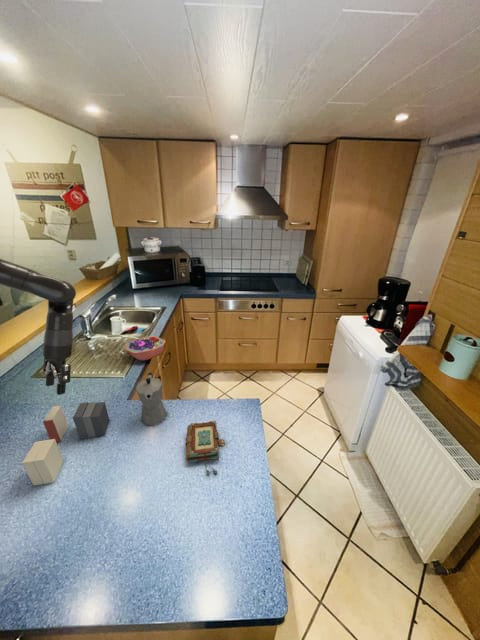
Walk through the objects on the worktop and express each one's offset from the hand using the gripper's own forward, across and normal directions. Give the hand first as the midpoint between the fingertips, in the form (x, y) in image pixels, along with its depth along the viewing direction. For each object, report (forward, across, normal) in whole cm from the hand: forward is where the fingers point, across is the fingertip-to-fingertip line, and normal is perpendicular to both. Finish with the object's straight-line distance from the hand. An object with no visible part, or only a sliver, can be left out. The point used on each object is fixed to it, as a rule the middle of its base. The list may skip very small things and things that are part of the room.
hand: (55, 389), depth 83 cm
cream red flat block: (+19, -3, +4) cm, 19 cm away
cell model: (+1, -20, +51) cm, 54 cm away
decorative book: (+14, +44, +29) cm, 54 cm away
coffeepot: (+12, +17, +28) cm, 35 cm away
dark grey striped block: (+16, +5, +12) cm, 21 cm away
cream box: (+22, +10, -4) cm, 25 cm away
